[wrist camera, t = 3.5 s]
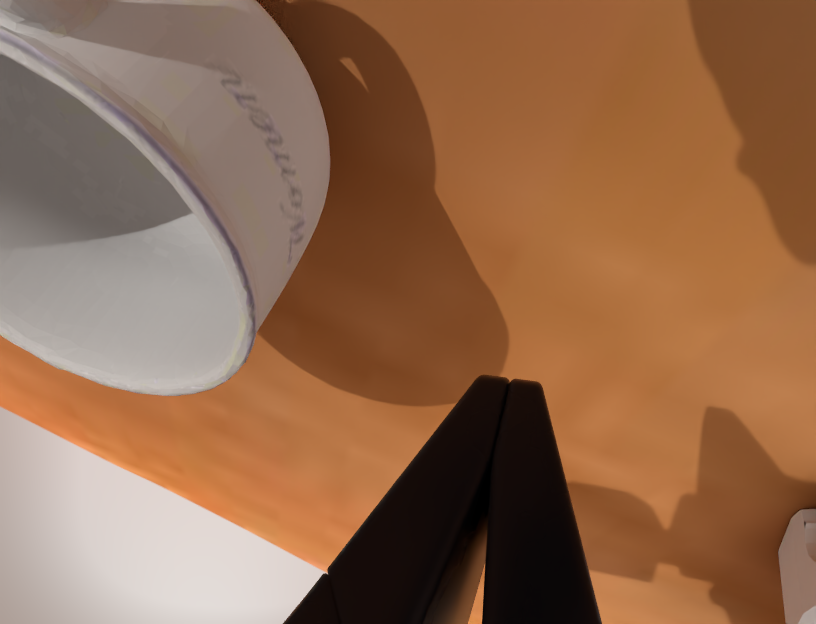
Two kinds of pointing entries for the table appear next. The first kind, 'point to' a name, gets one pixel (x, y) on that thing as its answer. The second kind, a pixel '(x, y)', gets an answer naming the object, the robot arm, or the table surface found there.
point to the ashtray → (799, 568)
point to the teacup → (151, 184)
